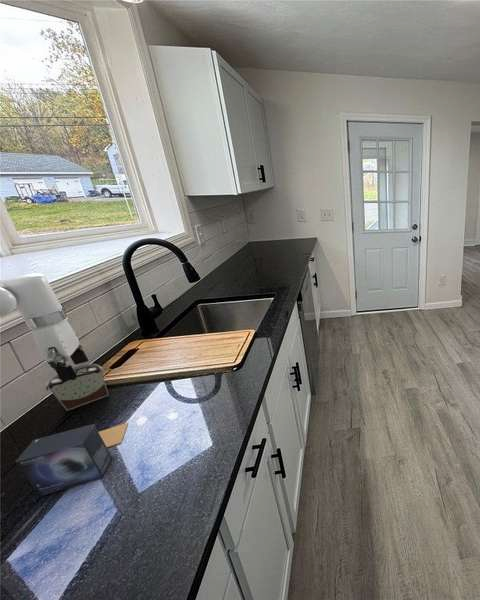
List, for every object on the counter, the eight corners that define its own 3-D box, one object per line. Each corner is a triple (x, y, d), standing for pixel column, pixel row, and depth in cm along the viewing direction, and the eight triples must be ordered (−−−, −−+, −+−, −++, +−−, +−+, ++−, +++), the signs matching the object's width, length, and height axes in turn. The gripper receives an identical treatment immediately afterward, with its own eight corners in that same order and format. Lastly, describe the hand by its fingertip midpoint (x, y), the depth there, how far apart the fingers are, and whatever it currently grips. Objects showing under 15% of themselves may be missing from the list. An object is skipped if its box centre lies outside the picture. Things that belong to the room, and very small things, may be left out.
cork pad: (50, 467, 72) (49, 466, 72) (63, 444, 79) (63, 443, 78) (121, 443, 78) (120, 442, 78) (128, 423, 84) (127, 422, 84)
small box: (38, 499, 65) (12, 462, 61) (56, 474, 70) (32, 439, 66) (102, 479, 68) (81, 442, 64) (114, 456, 74) (95, 422, 70)
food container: (114, 384, 101) (101, 358, 98) (115, 393, 97) (101, 365, 93) (61, 403, 94) (45, 375, 90) (59, 413, 90) (42, 384, 86)
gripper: (42, 311, 91) (70, 361, 98) (10, 335, 77) (46, 391, 84) (76, 305, 94) (101, 353, 101) (51, 326, 80) (82, 381, 87)
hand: (76, 370), depth 92 cm, fingers open, 9 cm apart
